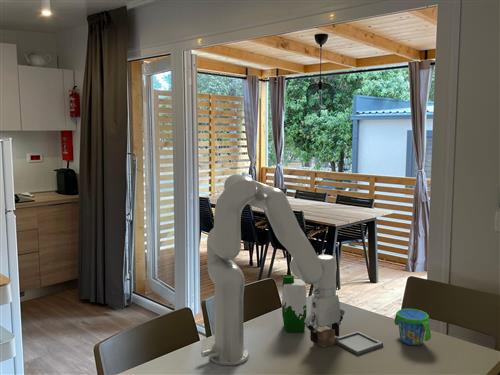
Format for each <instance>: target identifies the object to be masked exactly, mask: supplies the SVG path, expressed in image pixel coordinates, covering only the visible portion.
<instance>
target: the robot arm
mask: <svg viewBox="0 0 500 375" xmlns="http://www.w3.org/2000/svg"><path fill="white" fill-rule="evenodd" d="M246 205H250V206H252V207H254V208H257V209H261V210H263V211H264V213H265V216H266V217H267V219H268V222H269V224H270V227H271V228H272V230H273V233H274V235H275V237H276V239H277V240H278V242H279V243H280V244H281V245H282V246H283V247H284V248H285V249H286V251H288V254H290V256H291V257H292V259H291V261H290V262H289V269H290V272H291V273H292V274H293V276H294V277H296V278H297V279H301V280H302V281H304V282H305V284H307V285H313V290H312V291H311V294H312V298H311V299H312V300H311V305H310V306H311V307H310V315H309V316H307V317H306V319H305V321H304V322H305V328H307V329H308V330H309V331H310V333H309V335H310V336H309V337H310V338H309V339H310V341H311V342H312V343H314V344H316V343H318V332H316V331H317V329H318V328H319V327H323V326H327V325H330V324H332V329H333V330H335V337H336V338H337V337H340V326H341V324H342V323H341V322H342V321H343V318H344V315H345V310H344V309H341V305H340V298H339V295H338V293H337V260H336V257H335V256H334V255H330V254H319V255H317V252H316V250H315V248H314V247H313V245H312V244H311V242H310V240H309V239H308V238H307V235H306V234H305V233H304V231H303V229H302V228H301V226H300V224H299V222H298V219H297V217H296V215H295V213H294V211H293V209H292V207H291V204H290V201H289V199H288V197H287V196H286V194H285V192H284V191H283V190H282V189H280V188H277V187H274V186H272V185H271V186H270V185H268V184H264V183H263V182H260V181H256V180H254V179H253V178H251V177H250V176H247V175H243V174H239V173H238V174H237V173H235V174H232V175H230V176H228V177H227V178H226V180H225V181H224V185H223V191H222V192H221V194H220V195H219V196H218V199H217V201H216V202H215V205H214V206H215V207H214V212H213V228H211V229H210V231H209V232H208V235H207V237H206V263H207V264H206V267H207V274H208V277H209V279H210V280H211V281H212V283H213V284H214V296H213V315H214V316H213V322H214V323H213V324H214V343H212V344H211V347H210V348H209V349H205V350H201V352H200V355H201V357H202V358H206V357H208V359H210V360H211V362H213V363H215V364H217V365H220V366H227V367H228V366H236V365H240V364H243V363H244V362H246V361H247V360H248V359H249V357H250V356H249V354H250V353H249V351H248V349H246V348H244V347H245V340H244V338H245V336H244V332H245V331H244V327H245V326H244V293H245V292H244V291H245V286H246V285H245V284H246V281H245V274H244V272H243V271H242V269H241V267H239V265H237V263H235V262H236V261H235V259H236V258H237V257H238V256H239V254H240V253H241V249H242V231H241V230H242V229H241V222H242V221H241V218H242V214H243V213H242V212H243V210H244V208H245V207H246Z"/></svg>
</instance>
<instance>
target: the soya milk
mask: <svg viewBox="0 0 500 375" xmlns="http://www.w3.org/2000/svg"><path fill="white" fill-rule="evenodd" d="M281 289H282V292H281V314H282V321H283V327H284V332H285V333H304V332H305V331H306V330H305V329H306V324H305V322H304V321H305V319H307V287H306V283H305V282H304V281H302V280H301V279H300V278H295V275H292V274H286V275H283V276H282V288H281Z"/></svg>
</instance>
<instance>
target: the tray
mask: <svg viewBox="0 0 500 375" xmlns="http://www.w3.org/2000/svg"><path fill="white" fill-rule="evenodd" d="M335 345H337V346H340V347H341V348H343V349H345V350H347V351H349V352H351V353H353V354H355V355H357V356H359V355H362V354H365V353H367V352H371V351H374V350H375V349H380V348H382V347H384V342H382V341H380V340H378V339H376V338H373V337H372V336H370V335H368V334H366V333H363V332H361V331H359V330H357V331H353V332H351V333H347V334H344V335H339V336H338V337H337V336H336V337H335Z"/></svg>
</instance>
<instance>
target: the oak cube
mask: <svg viewBox="0 0 500 375" xmlns="http://www.w3.org/2000/svg"><path fill="white" fill-rule="evenodd" d="M316 332H318V343H315V344H317V345H318V346H320V347H322V348H326V347H329V346H333V345H336V343H335V338H336V336H335V330H333V329H331V328H329V327H327V326H323V327H319V328H318V329H317V331H316Z"/></svg>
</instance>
